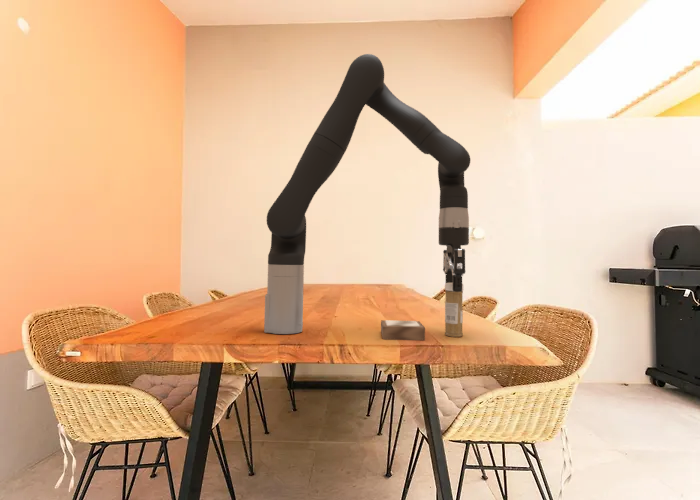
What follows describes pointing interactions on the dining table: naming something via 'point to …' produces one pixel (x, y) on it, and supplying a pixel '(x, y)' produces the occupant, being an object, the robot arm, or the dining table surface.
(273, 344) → the dining table surface
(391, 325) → the walnut plinth
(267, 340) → the dining table surface
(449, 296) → the sprinkles bottle
